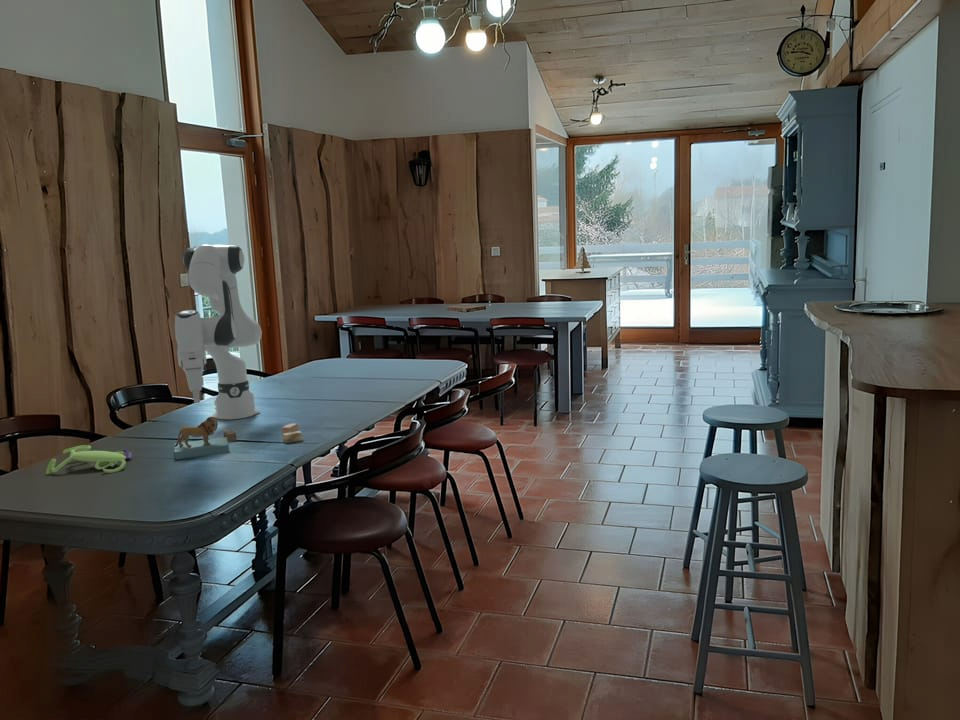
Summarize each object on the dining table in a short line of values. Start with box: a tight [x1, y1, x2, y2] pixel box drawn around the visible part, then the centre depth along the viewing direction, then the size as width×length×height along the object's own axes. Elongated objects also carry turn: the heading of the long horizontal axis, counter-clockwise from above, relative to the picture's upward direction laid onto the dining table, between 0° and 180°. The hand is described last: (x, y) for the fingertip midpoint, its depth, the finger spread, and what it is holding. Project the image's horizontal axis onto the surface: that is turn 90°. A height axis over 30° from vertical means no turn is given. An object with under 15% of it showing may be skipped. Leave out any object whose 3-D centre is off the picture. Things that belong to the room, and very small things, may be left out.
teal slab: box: [174, 436, 230, 460], centre depth 266 cm, size 12×17×2 cm
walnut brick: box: [222, 429, 238, 443], centre depth 281 cm, size 6×3×3 cm, turn 33°
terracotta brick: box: [281, 423, 299, 436], centre depth 286 cm, size 6×3×3 cm, turn 161°
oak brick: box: [282, 430, 303, 444], centre depth 275 cm, size 6×3×3 cm, turn 121°
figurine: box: [45, 444, 134, 475], centre depth 255 cm, size 18×27×6 cm
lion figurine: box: [174, 416, 219, 448], centre depth 265 cm, size 15×5×9 cm, turn 118°
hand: (196, 399), depth 264 cm, fingers open, 8 cm apart
